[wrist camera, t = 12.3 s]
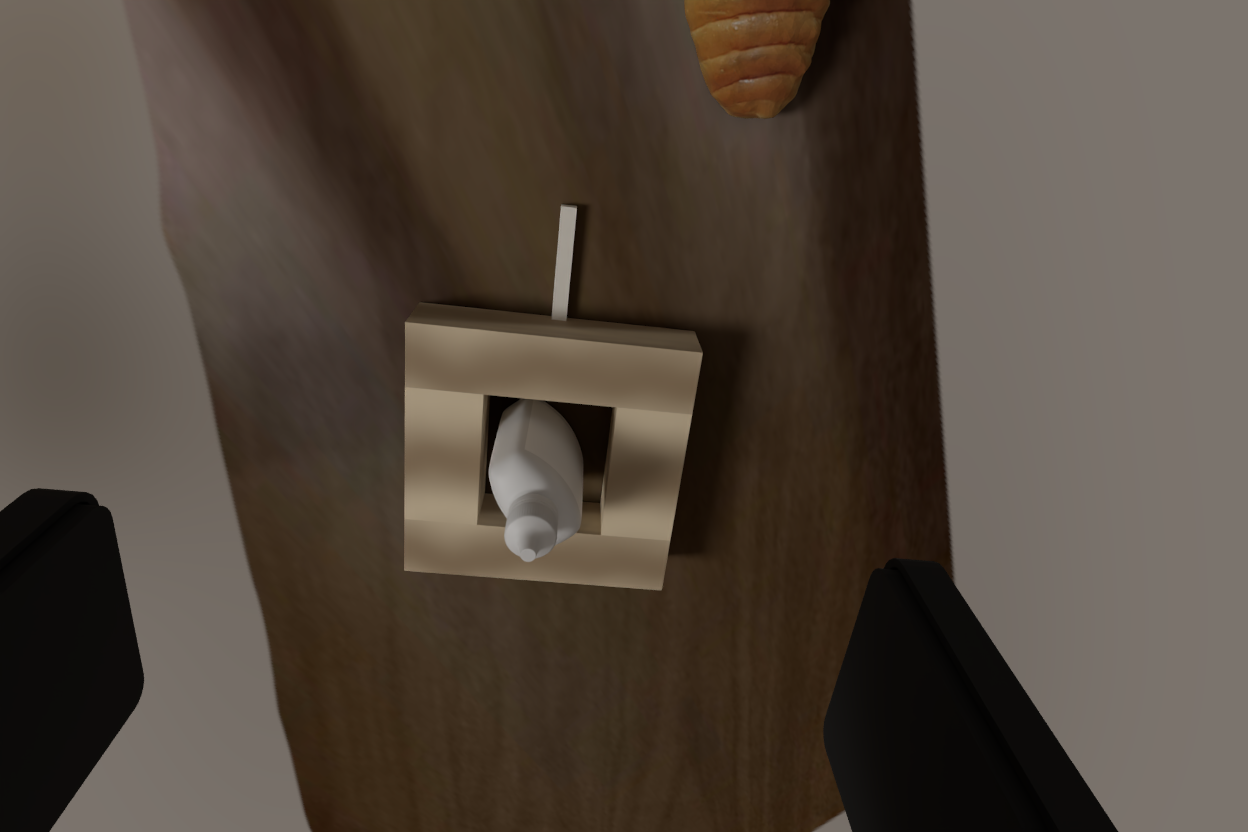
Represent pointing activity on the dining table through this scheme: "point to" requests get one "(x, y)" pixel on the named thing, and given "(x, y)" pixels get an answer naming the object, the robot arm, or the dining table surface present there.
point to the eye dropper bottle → (536, 478)
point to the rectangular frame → (552, 371)
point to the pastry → (754, 50)
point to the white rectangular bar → (564, 262)
